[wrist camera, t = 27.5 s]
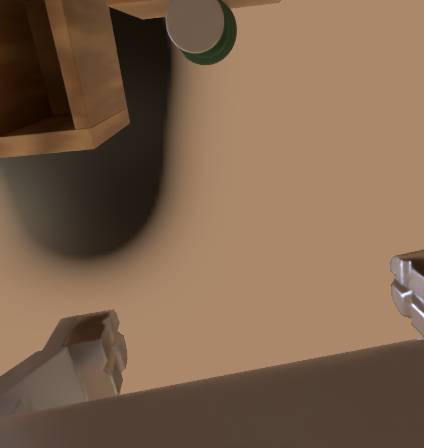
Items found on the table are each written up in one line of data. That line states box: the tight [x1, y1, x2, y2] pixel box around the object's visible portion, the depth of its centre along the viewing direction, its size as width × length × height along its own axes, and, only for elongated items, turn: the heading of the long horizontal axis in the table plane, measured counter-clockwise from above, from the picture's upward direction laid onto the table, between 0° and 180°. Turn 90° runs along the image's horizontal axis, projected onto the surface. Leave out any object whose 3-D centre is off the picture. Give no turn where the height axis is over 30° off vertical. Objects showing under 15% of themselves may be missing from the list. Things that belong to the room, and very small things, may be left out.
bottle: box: [166, 0, 237, 65], centre depth 28 cm, size 20×4×4 cm, turn 2°
